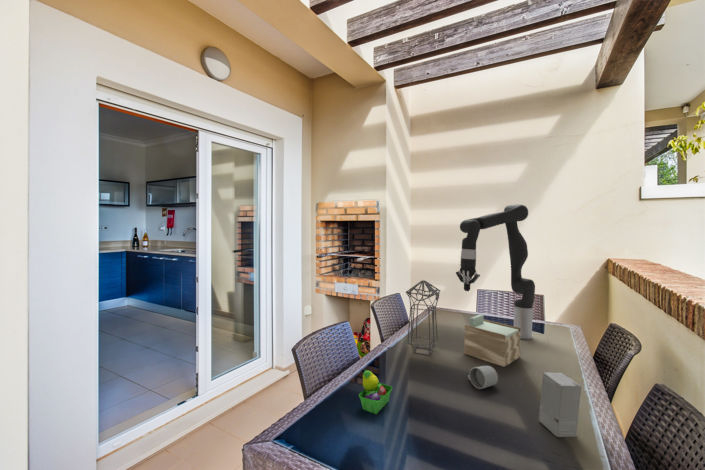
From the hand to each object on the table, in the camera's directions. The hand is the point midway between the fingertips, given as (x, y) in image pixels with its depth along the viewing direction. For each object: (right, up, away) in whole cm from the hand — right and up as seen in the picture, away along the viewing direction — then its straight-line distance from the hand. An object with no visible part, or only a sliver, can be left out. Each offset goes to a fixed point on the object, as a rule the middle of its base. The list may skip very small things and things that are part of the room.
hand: (466, 290), depth 164 cm
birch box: (+7, -29, -13) cm, 32 cm away
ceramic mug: (-10, -29, -42) cm, 52 cm away
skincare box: (+3, -30, -69) cm, 75 cm away
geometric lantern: (-25, -28, -8) cm, 39 cm away
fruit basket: (-52, -29, -57) cm, 83 cm away
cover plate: (+7, -17, -13) cm, 23 cm away
